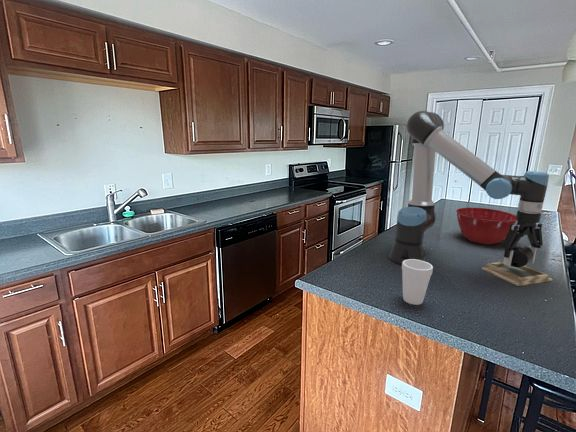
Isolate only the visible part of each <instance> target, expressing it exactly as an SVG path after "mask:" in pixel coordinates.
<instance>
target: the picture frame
mask: <svg viewBox="0 0 576 432" xmlns="http://www.w3.org/2000/svg"><path fill="white" fill-rule="evenodd" d="M481 270H482V271H485V272H487V273H489V274H491V275H492V276H495V277H497V278H499V279H502V280H504V281H506V282H508V283H510V284H512V285H514V286H517V287H519V286H528V285H532V284H533V285H535V284H541V283H547V282H552V281H553V278H551V277H550V275H549V274H547V273H546V272H542V271H540V270H538V269H535V268H532V267H530V266H527V265H525V266H522V267H519V268H518V267H513V266H507V265H505V264H503V261H499V262H497V261H496V262H489V263H486V265H485V267H481Z"/></svg>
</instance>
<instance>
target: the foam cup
mask: <svg viewBox="0 0 576 432" xmlns="http://www.w3.org/2000/svg"><path fill="white" fill-rule="evenodd" d="M433 269H434V266H433V265H432V264H431V263H430V262H427V261H422V260H416V259H408V260H404V261H403V262H402V264H401V271H402V272H401V273H402V274H401V275H402V277H401V278H402V299H403V301H404V302H405V303H408V304H410V305H414V306H415V305H417V306H419V305H422V304H423V302H424V299H425V296H426V293H427V290H428V286H429V283H430V279H431V276H432V275H433Z"/></svg>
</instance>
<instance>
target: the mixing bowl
mask: <svg viewBox="0 0 576 432" xmlns="http://www.w3.org/2000/svg"><path fill="white" fill-rule="evenodd" d="M455 211H456V216H457V217H456V218H457V221H458V223H457V224H458V226H459V229H460V232H461V233H462V236H464V237H465V238H466V239H467V240H468V241H470V242H471V243H472V242H473V243H475V244H479V245H485V246H486V245H495V244H499V243H500V242H503V241H504V239H505V237H506V235H507V233H508V231H509V229H510V225H511V224H513V225H516V224H517V222H518V221H517V220H516V215H517V214H513V213H510V212H508V211H503V210H497V209H493V208H492V209H491V208H485V207H484V208H483V207H461V208H457V209H456V210H455Z"/></svg>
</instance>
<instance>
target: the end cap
mask: <svg viewBox="0 0 576 432" xmlns="http://www.w3.org/2000/svg"><path fill="white" fill-rule="evenodd" d="M512 250H513V256H512V261H511V266H513V267H518V268H519V267H522V266H527V264H528V263H530V262H529V260H530V259H531V258H532V256H533V252H532V250H531V249H530V248H529V246H524V247H521V246H517V245H515V246H514V248H513V249H512Z"/></svg>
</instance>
